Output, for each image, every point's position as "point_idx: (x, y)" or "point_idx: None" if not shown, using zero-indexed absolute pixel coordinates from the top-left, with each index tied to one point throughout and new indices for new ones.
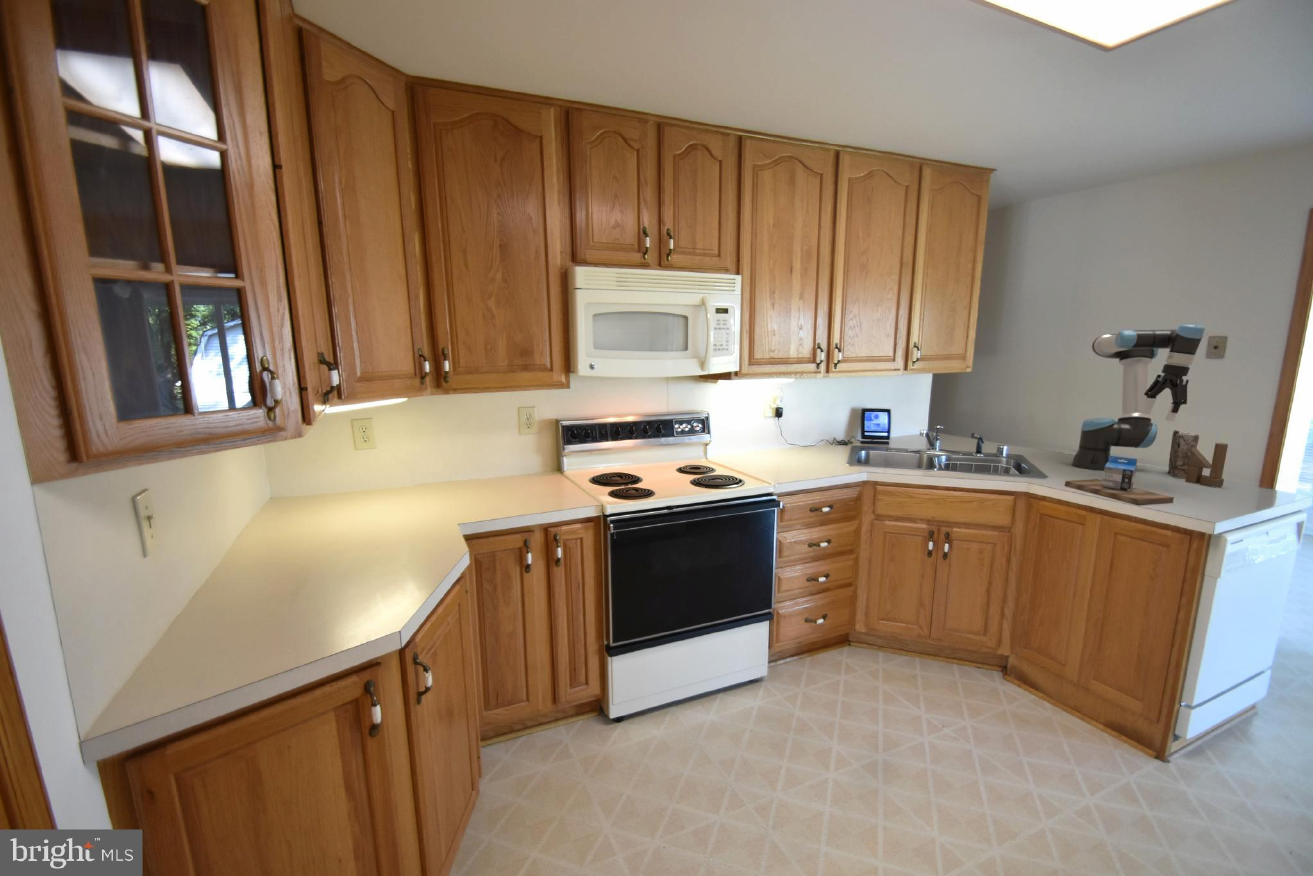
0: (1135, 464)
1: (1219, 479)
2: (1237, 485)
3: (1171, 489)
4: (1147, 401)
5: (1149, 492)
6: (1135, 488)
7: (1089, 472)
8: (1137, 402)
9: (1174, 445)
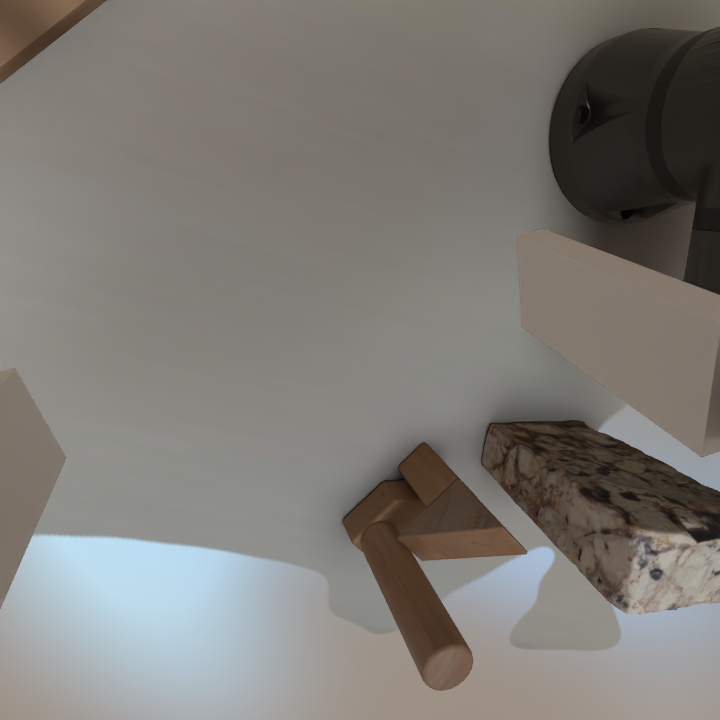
0: None
1: (356, 545)
2: None
3: (201, 344)
4: (654, 296)
5: None
6: None
7: (476, 65)
8: None
9: (648, 485)
